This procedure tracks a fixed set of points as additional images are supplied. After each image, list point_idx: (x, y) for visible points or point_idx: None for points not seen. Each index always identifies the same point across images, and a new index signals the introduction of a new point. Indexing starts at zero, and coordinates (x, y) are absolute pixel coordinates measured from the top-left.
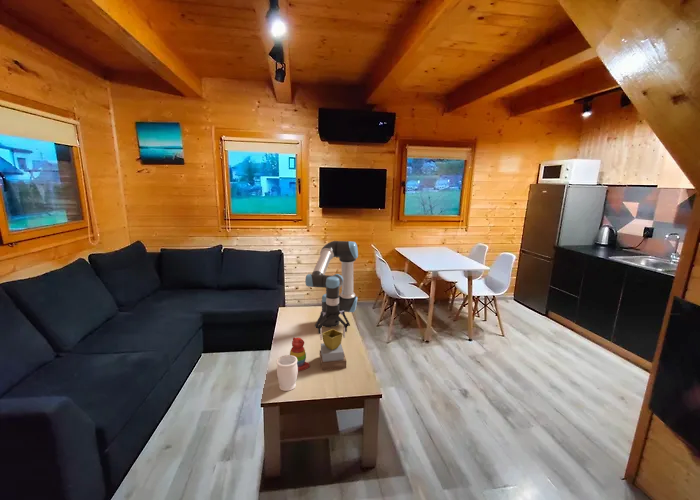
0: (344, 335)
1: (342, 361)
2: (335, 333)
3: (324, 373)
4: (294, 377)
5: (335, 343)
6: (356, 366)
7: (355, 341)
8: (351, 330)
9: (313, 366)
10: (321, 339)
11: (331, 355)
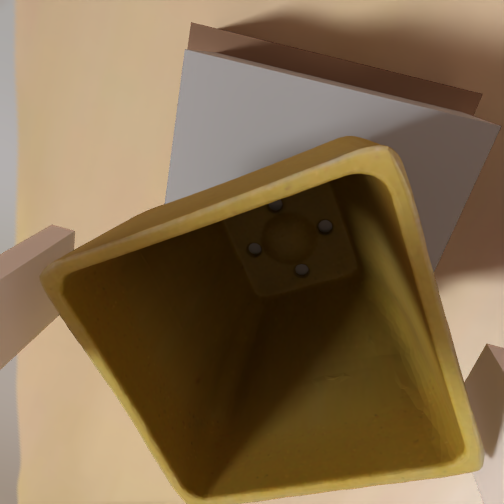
0: (30, 245)
1: (238, 34)
2: (177, 392)
3: (461, 19)
4: None
5: (270, 165)
6: (113, 15)
7: (30, 366)
8: (27, 482)
9: (496, 187)
10: (495, 349)
11: (365, 91)
